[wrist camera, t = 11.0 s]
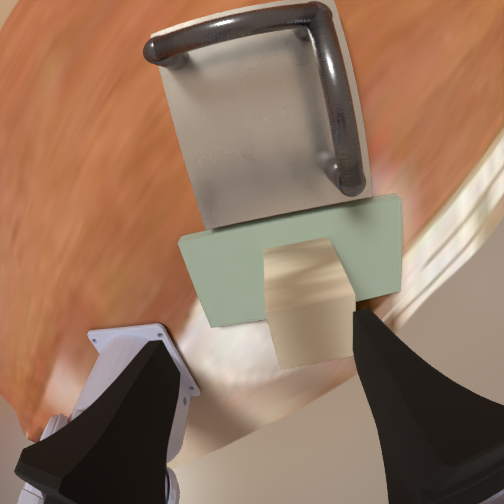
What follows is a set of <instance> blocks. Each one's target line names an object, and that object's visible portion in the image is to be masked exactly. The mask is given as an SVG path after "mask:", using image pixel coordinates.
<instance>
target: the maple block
mask: <svg viewBox="0 0 504 504" xmlns="http://www.w3.org/2000/svg"><path fill="white" fill-rule="evenodd" d="M263 256H264V288H265V313H266V317H267V321H268V325H269V328H270V332H271V336H272V340H273V343H274V347H275V351H276V355H277V358H278V362H279V366H280V369H287V368H293V367H299V366H305V365H310V364H315V363H321V362H326V361H330V360H335V359H340V358H344V357H349V356H353V355H354V354H353V312H354V311H356V300H355V293H354V291H353V288H352V286H351V284H350V282H349V279H348V277H347V275H346V273H345V271H344V269H343V267H342V264H341V262H340V260H339V258H338V256H337V254H336V252H335V250H334V248H333V246H332V244H331V241H330V239H329V237H323V238H318V239H313V240H308V241H303V242H298V243H293V244H288V245H283V246H278V247H273V248H268V249H263Z"/></svg>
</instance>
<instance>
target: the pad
mask: <svg viewBox="0 0 504 504" xmlns="http://www.w3.org/2000/svg"><path fill="white" fill-rule="evenodd" d="M323 237H329V239H330V241H331V244H332V246H333V248H334V250H335V252H336V254H337V256H338V258H339V260H340V262H341V264H342V267H343V269H344V271H345V273H346V275H347V277H348V279H349V282H350V284H351V286H352V288H353V291H354V293H355V300H356V302H357V301H361V300H365V299H370V298H374V297H378V296H382V295H386V294H391V293H395V292H399V291H400V290H401V271H402V203H401V198H400V197H399V196H397V195H396V194H390V195H384V196H378V197H372V198H367V199H361V200H355V201H350V202H344V203H339V204H334V205H328V206H323V207H318V208H312V209H307V210H302V211H297V212H292V213H287V214H282V215H277V216H272V217H267V218H262V219H257V220H253V221H248V222H243V223H238V224H234V225H229V226H224V227H220V228H215V229H211V230H206V231H202V232H197V233H193V234H188V235H184V236H181V238H180V240H179V241H178V245H179V248H180V250H181V253H182V256H183V258H184V261H185V264H186V266H187V269H188V272H189V274H190V277H191V279H192V282H193V285H194V287H195V290H196V292H197V295H198V297H199V300H200V302H201V305H202V307H203V310H204V312H205V314H206V317H207V319H208V322H209V324H210V327H211V328H214V327H221V326H227V325H234V324H241V323H247V322H253V321H259V320H265V319H267V317H266V313H265V288H264V256H263V249H268V248H273V247H278V246H283V245H288V244H293V243H298V242H303V241H308V240H313V239H318V238H323Z"/></svg>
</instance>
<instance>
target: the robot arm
mask: <svg viewBox="0 0 504 504" xmlns="http://www.w3.org/2000/svg"><path fill="white" fill-rule="evenodd" d="M160 333H161V334H163V335H161V334H160ZM88 337H89V339H90V340H91V342H92V343H93V345H94V346H95V348H96V349H97V351H98V352H99V354H100V355H99V357H98V359H97V361H96V363H95V365H94V367H93V369H92V371H91V373H90V375H89V377H88V379H87V381H86V383H85V385H84V388H83V390H82V392H81V394H80V396H79V398H78V400H77V403H76V405H75V407H74V409H73V412H72V414H71V415H70V416H69V417H66V416H65V415H63V414H59V415H55V416H52V417H51V418H50V420H49V422H48V424H47V426H46V428H45V430H44V432H43V434H42V436H41V439H40V441H39V442H37V443H35V444H33V445H31V446H29V447H27V448H24V449H23V451H22V453H21V455H20V458H19V461H18V463H17V465H16V468H15V471H14V472H15V474H16V475H17V476H18V477H20V478H21V479H22V480H24V481H25V484H24V487H23V489H22V491H21V494H20V497H19V500H18V503H17V504H178V503H179V497H180V495H179V494H180V491H179V485H178V482H177V478H176V475H175V473H174V472H173V470H172V469H171V468H169V467H167V463H168V462H170V461H171V460H172V459H173V458H174V457H175V456H176V455H177V454H178V452H179V451H180V449H181V447H182V444H183V439H184V433H185V428H186V422H187V417H188V412H189V406H190V401H191V397H198V396H200V394H201V391H200V389H199V388H198V386H197V385H196V383H195V381H194V379H193V378H192V376H191V374H190V373H189V371H188V369H187V367H186V366H185V364H184V362H183V360H182V359H181V357H180V355H179V353H178V351H177V350H176V348H175V346H174V344H173V342H172V340H171V339H170V337H169V335H168V333H167V331H166V329H165V327H164V326H163V325H162V324H158V323H156V324H148V325H139V326H130V327H121V328H111V329H100V330H90V331H89V332H88ZM353 354H354V359H355V363H356V367H357V371H358V375H359V377H360V380H361V383H362V386H363V388H364V391H365V394H366V397H367V400H368V402H369V405H370V408H371V411H372V414H373V417H374V419H375V423H376V426H377V430H378V435H379V440H380V445H381V449H382V455H383V461H384V467H385V474H386V481H387V490H388V500H389V504H504V405H501V404H498V403H496V402H493V401H491V400H489V399H486V398H484V397H482V396H480V395H478V394H476V393H474V392H472V391H470V390H468V389H466V388H465V387H462V386H461V385H459V384H457V383H456V382H454V381H452V380H451V379H449V378H448V377H446V376H445V375H443V374H442V373H440V372H439V371H438V370H436V369H435V368H433V367H432V366H431V365H429V364H428V363H427V362H426V361H424V360H423V359H422V358H421V357H419V356H418V355H417V354H416V353H415V352H413V351H412V350H411V349H410V348H409V347H408V346H407V345H406V344H405V343H404V342H402V341H401V340H400V339H399V338H398V337H397V336H396V335H395V334H394V333H393V332H392V331H391V330H390V329H389V328H388V327H387V326H386V325H385V324H384V323H383V322H382V321H381V320H380V319H379V318H378V317H377V316H376V315H375V314H374V312H373V311H372V310H370V309H369V308H368V309H363V310H359V311H354V312H353Z"/></svg>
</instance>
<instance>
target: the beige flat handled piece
mask: <svg viewBox="0 0 504 504" xmlns="http://www.w3.org/2000/svg"><path fill="white" fill-rule="evenodd" d="M151 37H152V38H151V39H150V40H149V41H148V42H147V43H146V44H145V46H144V49H143V55H144V57H145V59H146V60H147V61H148V62H150V63H153V64H155V65H158V66H159V70H160V74H161V78H162V81H163V85H164V89H165V93H166V97H167V100H168V104H169V108H170V112H171V115H172V119H173V123H174V126H175V130H176V133H177V137H178V140H179V144H180V147H181V151H182V154H183V158H184V161H185V165H186V168H187V171H188V175H189V178H190V182H191V185H192V188H193V191H194V195H195V198H196V201H197V205H198V208H199V211H200V214H201V217H202V221H203V224H204V227H205V230H207V229H212V228H216V227H221V226H226V225H230V224H235V223H240V222H244V221H249V220H254V219H259V218H264V217H268V216H273V215H278V214H283V213H288V212H293V211H298V210H303V209H309V208H314V207H319V206H324V205H330V204H335V203H340V202H346V201H351V200H357V199H363V198H368V197H373V193H372V183H371V173H370V165H369V156H368V149H367V142H366V135H365V129H364V122H363V116H362V111H361V105H360V100H359V95H358V90H357V85H356V80H355V76H354V71H353V67H352V63H351V58H350V54H349V50H348V47H347V43H346V39H345V35H344V32H343V28H342V25H341V21H340V18H339V15H338V11H337V8H336V5H335V2H334V0H286V1H278V2H271V3H265V4H259V5H253V6H248V7H243V8H238V9H233V10H229V11H225V12H221V13H217V14H213V15H209V16H205V17H202V18H198V19H195V20H191V21H188V22H185V23H182V24H179V25H176V26H173V27H170V28H167V29H164V30H162V31H159V32H156V33H154V34H151Z"/></svg>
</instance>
